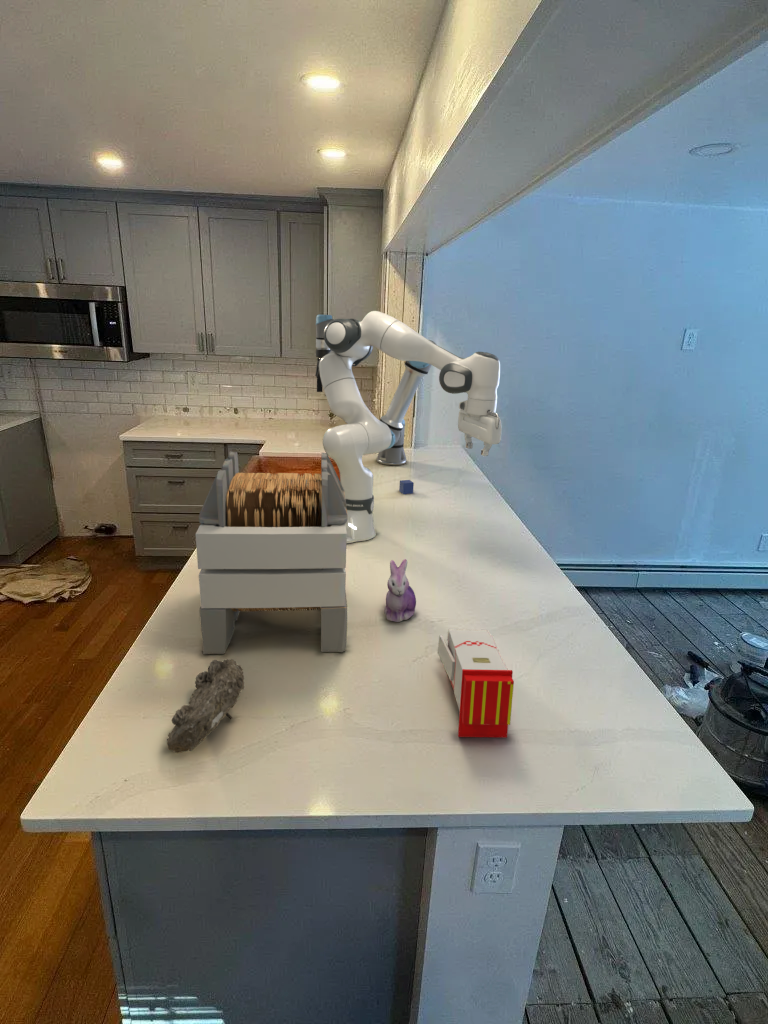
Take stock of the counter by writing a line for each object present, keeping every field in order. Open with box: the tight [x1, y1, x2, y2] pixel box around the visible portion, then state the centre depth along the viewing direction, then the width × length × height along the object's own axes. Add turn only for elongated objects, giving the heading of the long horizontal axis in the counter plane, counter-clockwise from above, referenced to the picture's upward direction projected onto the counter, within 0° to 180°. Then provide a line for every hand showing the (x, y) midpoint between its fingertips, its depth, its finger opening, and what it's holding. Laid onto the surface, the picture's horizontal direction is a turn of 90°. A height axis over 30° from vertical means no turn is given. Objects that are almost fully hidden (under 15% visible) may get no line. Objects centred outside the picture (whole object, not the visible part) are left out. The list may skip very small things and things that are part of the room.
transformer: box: [195, 450, 348, 656], centre depth 137 cm, size 34×33×41 cm
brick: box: [398, 479, 415, 495], centre depth 245 cm, size 4×5×5 cm
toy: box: [437, 628, 515, 738], centre depth 117 cm, size 12×13×30 cm
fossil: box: [166, 658, 245, 754], centre depth 106 cm, size 22×10×15 cm
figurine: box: [384, 558, 417, 623], centre depth 145 cm, size 9×10×15 cm
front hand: (476, 451), depth 177 cm, fingers open, 8 cm apart
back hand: (323, 394), depth 277 cm, fingers open, 13 cm apart
